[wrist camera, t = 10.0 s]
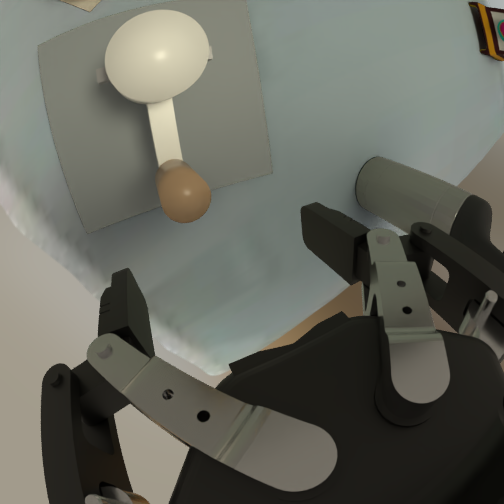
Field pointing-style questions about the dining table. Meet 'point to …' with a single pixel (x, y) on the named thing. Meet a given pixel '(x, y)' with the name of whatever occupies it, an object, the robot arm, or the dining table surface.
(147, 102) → the cream maraca
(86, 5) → the condiment
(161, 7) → the board
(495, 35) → the decorative lantern
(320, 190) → the dining table surface
